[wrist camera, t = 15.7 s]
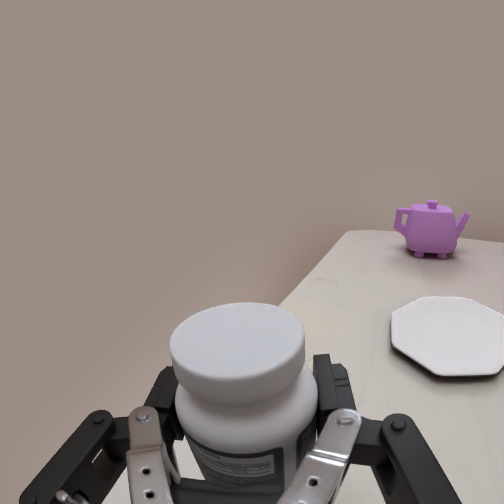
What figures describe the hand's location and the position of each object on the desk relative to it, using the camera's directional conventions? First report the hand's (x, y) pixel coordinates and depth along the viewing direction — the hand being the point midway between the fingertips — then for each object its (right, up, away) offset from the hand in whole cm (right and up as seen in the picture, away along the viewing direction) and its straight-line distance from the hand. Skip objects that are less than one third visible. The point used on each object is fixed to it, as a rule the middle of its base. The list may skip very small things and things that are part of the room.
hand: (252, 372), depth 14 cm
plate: (+28, -6, +21) cm, 36 cm away
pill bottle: (0, -7, 0) cm, 7 cm away
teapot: (+44, +6, +52) cm, 68 cm away
